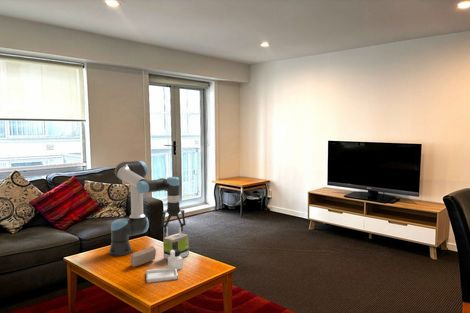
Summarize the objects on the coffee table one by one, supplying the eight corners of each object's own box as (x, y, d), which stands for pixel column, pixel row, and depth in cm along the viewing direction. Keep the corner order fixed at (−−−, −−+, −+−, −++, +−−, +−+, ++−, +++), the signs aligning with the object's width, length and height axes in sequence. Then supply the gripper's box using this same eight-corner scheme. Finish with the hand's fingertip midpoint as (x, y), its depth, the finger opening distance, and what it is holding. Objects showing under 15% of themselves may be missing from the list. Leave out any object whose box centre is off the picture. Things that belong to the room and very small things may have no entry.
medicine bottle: (177, 265, 223) (177, 247, 222) (183, 268, 218) (182, 250, 217) (167, 268, 219) (167, 249, 218) (173, 271, 213) (172, 252, 213)
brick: (133, 257, 217) (130, 253, 220) (132, 268, 220) (129, 263, 223) (156, 249, 228) (153, 245, 231) (155, 259, 231) (152, 255, 234)
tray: (146, 273, 210) (146, 270, 210) (176, 270, 215) (176, 267, 214) (146, 282, 197) (146, 279, 197) (178, 279, 201) (178, 275, 201)
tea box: (179, 252, 247) (179, 232, 246) (189, 255, 240) (189, 234, 239) (163, 258, 235) (162, 237, 234) (172, 261, 229) (172, 240, 228)
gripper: (157, 203, 210) (157, 240, 212) (190, 201, 216) (190, 237, 218) (156, 201, 218) (157, 236, 219) (188, 199, 223) (189, 234, 225)
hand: (173, 236), depth 218 cm, fingers open, 8 cm apart
